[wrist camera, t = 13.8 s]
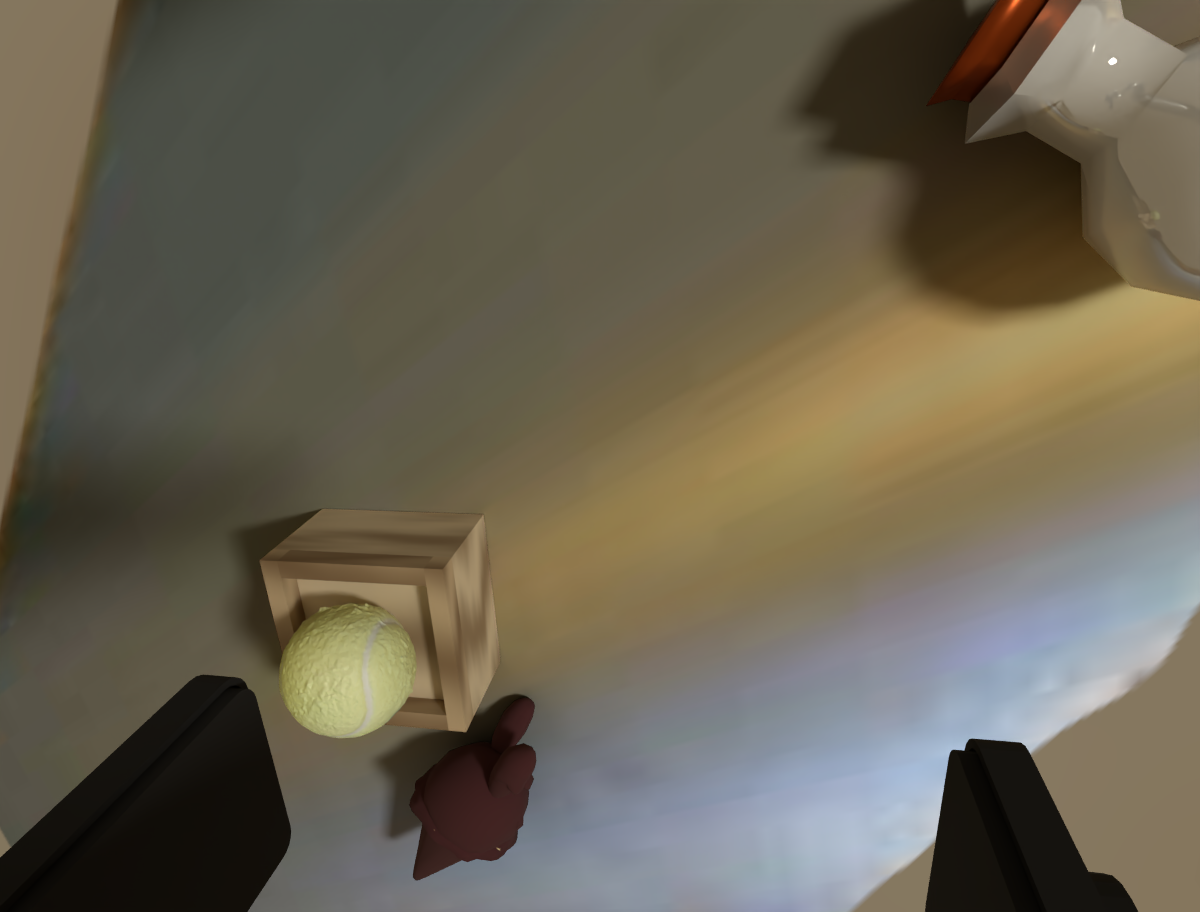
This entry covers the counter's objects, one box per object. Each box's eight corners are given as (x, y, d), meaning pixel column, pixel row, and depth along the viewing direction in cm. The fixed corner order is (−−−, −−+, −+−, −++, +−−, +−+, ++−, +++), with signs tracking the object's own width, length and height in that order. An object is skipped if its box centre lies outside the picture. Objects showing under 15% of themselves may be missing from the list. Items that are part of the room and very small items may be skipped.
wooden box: (322, 508, 43) (259, 560, 38) (483, 514, 41) (442, 569, 36) (351, 650, 47) (297, 716, 41) (500, 660, 45) (466, 732, 39)
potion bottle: (1236, 259, 32) (937, 83, 33) (1533, 49, 23) (1118, -178, 24) (1219, 400, 27) (871, 189, 28) (1584, 201, 19) (1067, -89, 20)
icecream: (462, 947, 46) (588, 794, 41) (351, 915, 44) (470, 750, 39) (470, 846, 52) (581, 704, 47) (373, 814, 50) (479, 661, 45)
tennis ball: (274, 773, 35) (394, 760, 33) (226, 648, 34) (347, 626, 32) (348, 700, 41) (452, 686, 39) (309, 592, 40) (414, 571, 38)
